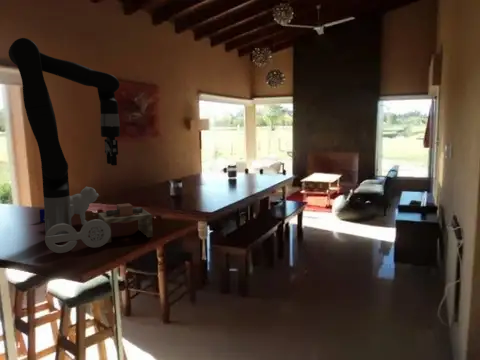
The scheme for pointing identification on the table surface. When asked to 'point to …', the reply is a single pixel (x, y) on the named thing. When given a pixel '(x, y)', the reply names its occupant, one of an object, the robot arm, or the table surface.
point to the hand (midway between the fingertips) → (111, 164)
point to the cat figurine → (82, 202)
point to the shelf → (140, 215)
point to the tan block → (125, 210)
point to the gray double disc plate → (78, 235)
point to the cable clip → (42, 215)
